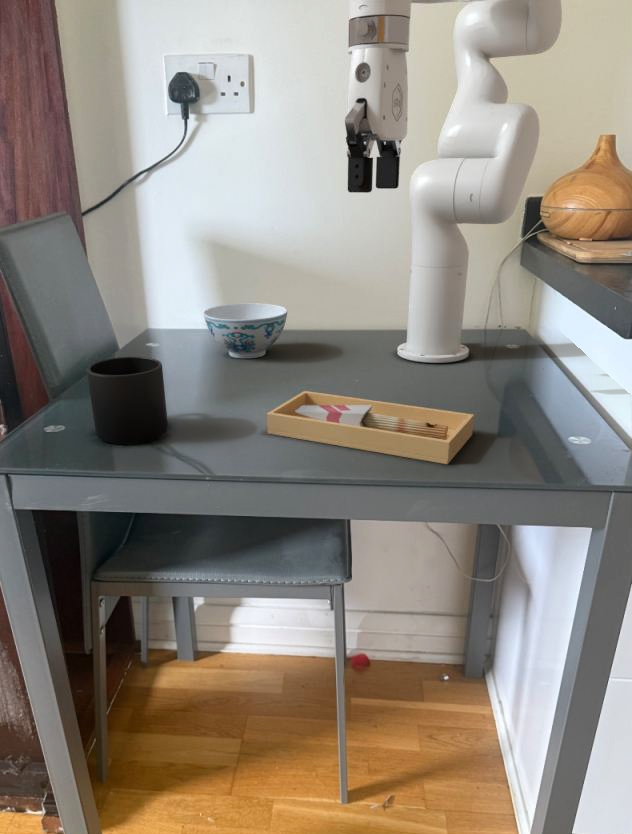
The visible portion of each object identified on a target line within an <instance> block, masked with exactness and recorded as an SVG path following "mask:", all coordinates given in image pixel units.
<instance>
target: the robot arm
mask: <svg viewBox="0 0 632 834" xmlns="http://www.w3.org/2000/svg"><path fill="white" fill-rule="evenodd" d="M442 3H443V4H444V3H467V4H466V5H464V6H463V7H462V8H461V9H460V11H459V12H458V14H457V15H456V18H455V22H454V25H453V35H452V37H453V55H454V57H453V58H454V65H455V73H456V81H457V89H456V92H455V95H454V98H453V100H452V103H451V106H450V108H449V111H448V113H447V115H446V118H445V121H444V122H443V125H442V128H441V130H440V134H439V136H438V140H437V155H438V158H435V159H431V160H430V159H429V160H427V161H425V162H423V163H421V164H419V165H418V166H417V167H416V168H415V170H414V171H413V173H412V174H411V177H410V180H409V185H408V198H409V199H408V200H409V209H410V216H411V217H410V218H411V254H410V255H411V256H410V257H411V258H410V271H409V272H410V273H409V276H410V277H409V292H408V310H407V327H406V342H403V343H401V344H399V345H398V346H397V351H396V353H397V355H398V356H399V357H400V358H402V359H403V360H404V359H405V360H408V361H412V362H417V363H428V364H446V363H454V362H460V361H462V360H465V359H467V358H468V357H469V353H470V348H469V347H468V346H466V345H464V344H462V334H463V324H464V323H463V322H464V313H465V311H464V310H465V300H466V290H467V280H468V279H467V278H468V267H469V255H470V253H469V246H468V243H467V241H466V239H465V237H464V235H463V233H462V232H461V229H460V228H459V226H458V225H460V224H461V225H462V224H467V225H468V224H470V225H472V224H473V225H498V224H502V223H505V222H506V221H508V220H509V219H510V218H511V217H512V216H513V214H514V212H515V210H516V208H517V206H518V203H519V200H520V198H521V195H522V192H523V189H524V187H525V184H526V182H527V179H528V176H529V173H530V171H531V168H532V166H533V162H534V160H535V156H536V152H537V150H538V146H539V139H540V119H539V115H538V113H537V111H536V110H535V108H533V106H531V105H530V104H526V103H523V102H522V103H521V102H507V101H508V97H509V91H508V89H509V88H508V86H507V83H506V81H505V79H504V77H503V76H502V75H501V73H500V71H499V70H498V69H497V67H496V66H495V65H493V63H491V59H496V58H498V59H499V58H508V57H520V56H531V55H532V56H533V55H540V54H542V53H543V54H544V53H545V52H547V51H549V50H550V49H551V48H552V47H553V46H554V45H555V44H556V42H557V40H558V38H559V35H560V33H561V29H562V28H561V27H562V22H563V21H562V20H563V11H562V9H563V8H562V0H348V35H347V36H348V37H347V40H348V42H347V43H348V44H347V53H348V55H351V57H350V66H349V75H348V76H349V78H348V91H347V114H346V116H345V118H344V126H345V132H346V137H345V142H346V145H347V150H346V157H347V192H348V193H361V194H364V193H367V194H368V193H371V192H372V191H373V175H374V174H373V173H374V172H373V171H374V157H371V154H372V150H373V148H374V145H375V142H376V146H377V150H378V154H379V156H376V164H375V165H376V166H375V188H376V189H378V190H379V189H383V190H384V189H389V190H390V189H391V190H394V189H398V188H399V182H400V166H401V165H400V162H401V155H402V154H401V153H402V148H401V144H402V141H403V140H404V139H405V138H406V137H407V134H408V114H409V113H408V112H409V111H408V109H409V107H408V104H409V103H408V102H409V101H408V99H409V96H408V95H409V86H408V62H407V61H408V60H407V53H408V52H409V51H410V33H411V15H412V4H425V5H426V4H442Z"/></svg>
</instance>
